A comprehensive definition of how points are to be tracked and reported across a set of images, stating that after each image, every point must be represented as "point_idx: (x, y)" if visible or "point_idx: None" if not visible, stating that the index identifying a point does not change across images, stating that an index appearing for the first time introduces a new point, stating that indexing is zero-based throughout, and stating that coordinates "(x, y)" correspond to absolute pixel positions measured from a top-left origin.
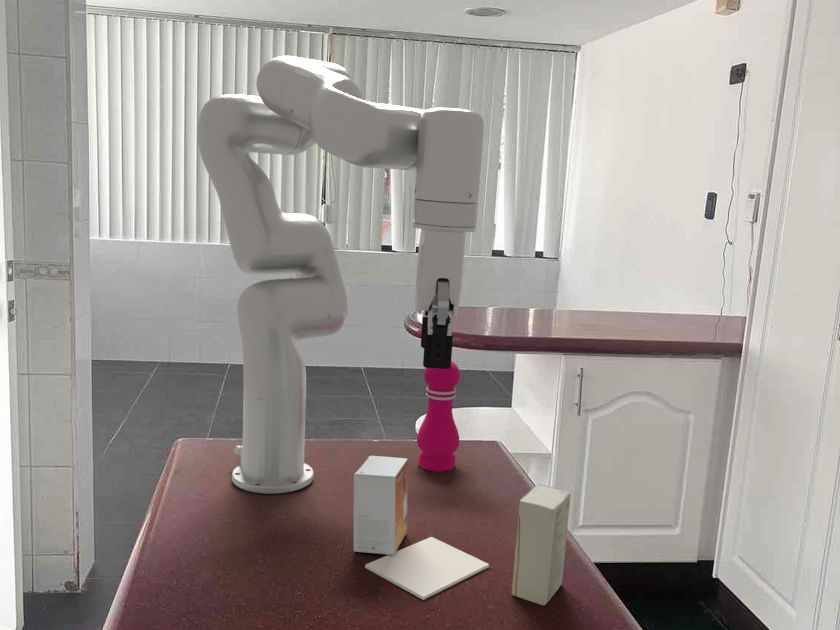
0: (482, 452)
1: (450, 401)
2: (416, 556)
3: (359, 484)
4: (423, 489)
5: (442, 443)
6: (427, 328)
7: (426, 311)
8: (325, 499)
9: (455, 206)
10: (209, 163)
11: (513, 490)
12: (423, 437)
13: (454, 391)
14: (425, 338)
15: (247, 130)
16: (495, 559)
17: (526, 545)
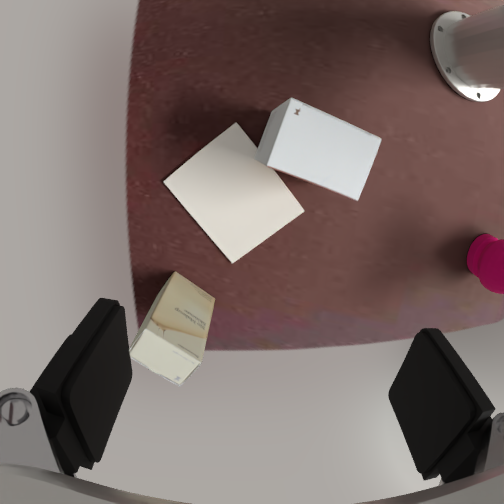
0: (491, 306)
1: None
2: (254, 185)
3: (283, 108)
4: (433, 226)
5: (485, 269)
6: (444, 396)
7: (485, 446)
8: (419, 100)
9: None
10: None
11: (407, 323)
12: (500, 249)
13: None
14: (47, 372)
15: None
16: (250, 272)
17: (153, 307)
